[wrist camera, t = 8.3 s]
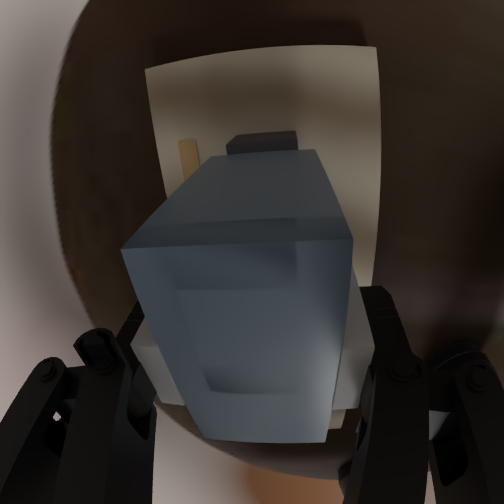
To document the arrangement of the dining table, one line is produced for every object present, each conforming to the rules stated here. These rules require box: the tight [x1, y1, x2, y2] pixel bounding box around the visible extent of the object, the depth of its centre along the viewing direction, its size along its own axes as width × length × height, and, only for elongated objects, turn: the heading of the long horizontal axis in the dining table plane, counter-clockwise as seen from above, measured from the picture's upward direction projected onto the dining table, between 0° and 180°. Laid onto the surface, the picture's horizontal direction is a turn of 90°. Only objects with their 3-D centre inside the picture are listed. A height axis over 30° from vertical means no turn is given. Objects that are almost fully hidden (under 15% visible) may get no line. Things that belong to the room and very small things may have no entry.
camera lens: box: [426, 342, 502, 385], centre depth 18 cm, size 8×8×15 cm
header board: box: [145, 45, 381, 429], centre depth 18 cm, size 34×12×9 cm, turn 6°
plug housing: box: [121, 149, 354, 443], centre depth 11 cm, size 8×4×8 cm, turn 6°
